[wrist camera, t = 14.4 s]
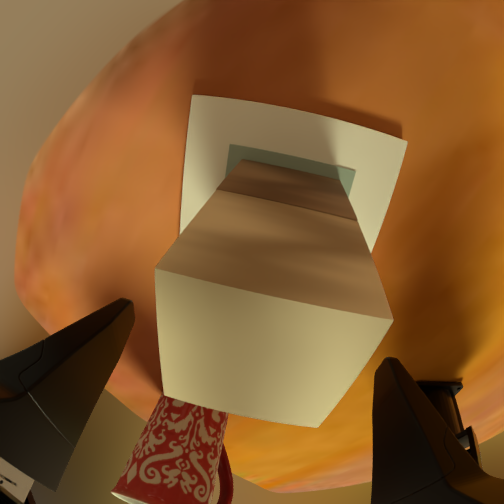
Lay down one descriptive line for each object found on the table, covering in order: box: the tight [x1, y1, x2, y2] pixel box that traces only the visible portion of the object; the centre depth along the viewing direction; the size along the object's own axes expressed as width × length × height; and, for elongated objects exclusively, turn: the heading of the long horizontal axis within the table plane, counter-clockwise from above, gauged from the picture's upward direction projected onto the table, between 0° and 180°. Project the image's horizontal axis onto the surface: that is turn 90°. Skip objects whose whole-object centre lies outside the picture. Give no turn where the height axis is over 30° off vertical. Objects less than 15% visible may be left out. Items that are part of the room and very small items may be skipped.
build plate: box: [180, 95, 408, 253], centre depth 16 cm, size 11×11×1 cm
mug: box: [111, 391, 233, 504], centre depth 23 cm, size 13×9×14 cm
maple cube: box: [155, 190, 394, 428], centre depth 9 cm, size 5×5×5 cm
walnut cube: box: [216, 159, 358, 221], centre depth 13 cm, size 5×5×5 cm
